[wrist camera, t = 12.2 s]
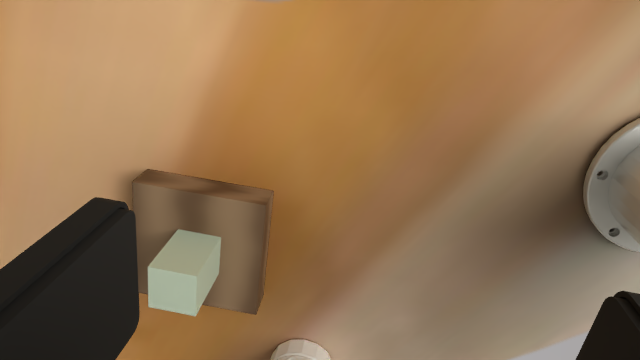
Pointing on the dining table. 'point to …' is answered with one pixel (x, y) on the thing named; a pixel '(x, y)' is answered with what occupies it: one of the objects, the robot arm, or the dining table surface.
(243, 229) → the walnut base
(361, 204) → the dining table surface
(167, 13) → the dining table surface
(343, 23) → the dining table surface
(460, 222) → the dining table surface
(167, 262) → the sage block
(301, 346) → the white cup
